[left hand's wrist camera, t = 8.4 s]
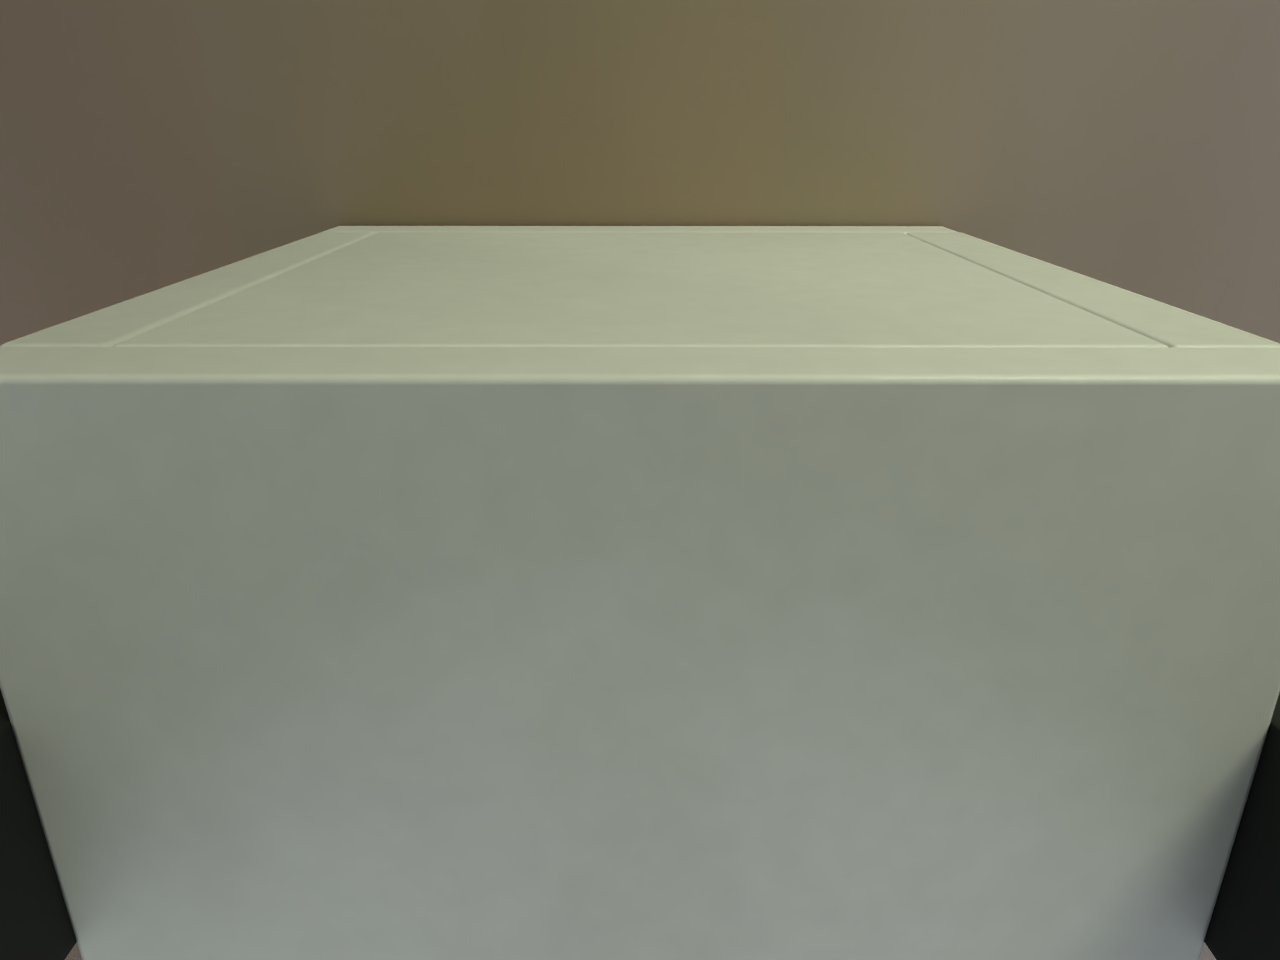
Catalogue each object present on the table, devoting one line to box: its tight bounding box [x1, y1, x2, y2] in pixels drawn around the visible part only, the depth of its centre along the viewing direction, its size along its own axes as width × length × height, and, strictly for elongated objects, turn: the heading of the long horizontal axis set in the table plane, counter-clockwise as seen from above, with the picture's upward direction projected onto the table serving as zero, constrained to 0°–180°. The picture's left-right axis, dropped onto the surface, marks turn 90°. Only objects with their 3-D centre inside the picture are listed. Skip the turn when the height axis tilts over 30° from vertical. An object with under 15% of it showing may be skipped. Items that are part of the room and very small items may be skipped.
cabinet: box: [0, 226, 1280, 960], centre depth 16 cm, size 18×12×11 cm, turn 0°
